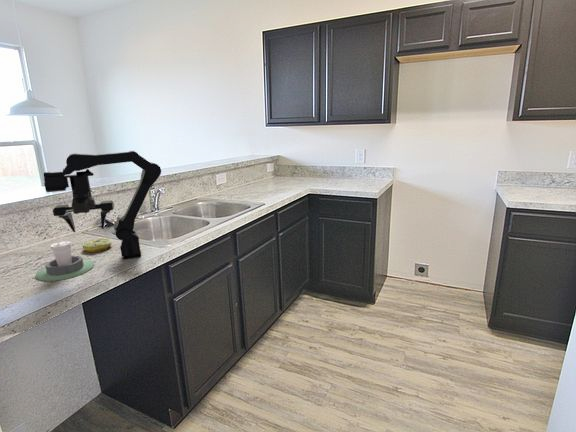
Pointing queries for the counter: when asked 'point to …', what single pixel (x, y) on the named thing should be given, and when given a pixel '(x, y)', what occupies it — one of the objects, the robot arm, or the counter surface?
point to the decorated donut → (97, 245)
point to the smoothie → (62, 252)
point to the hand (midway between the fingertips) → (88, 230)
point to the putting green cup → (64, 269)
